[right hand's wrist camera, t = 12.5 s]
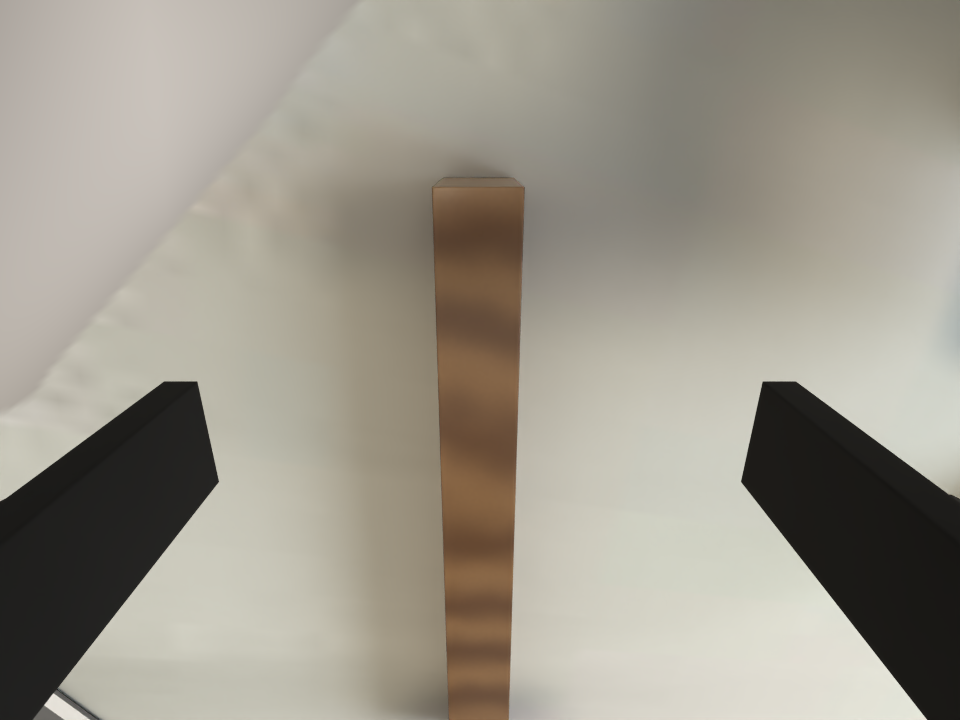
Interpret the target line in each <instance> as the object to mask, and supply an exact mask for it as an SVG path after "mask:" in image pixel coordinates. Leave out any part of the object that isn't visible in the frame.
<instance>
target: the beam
mask: <svg viewBox="0 0 960 720" xmlns="http://www.w3.org/2000/svg"><path fill="white" fill-rule="evenodd" d="M524 190H525V188H524V186H522V185H521V184H520V183H519V182H518V181H517V180H516V179H515V178H443V179H441V180H440V181H439V182H438V183H437V184H435V185H434V186H433V187H432V203H433V235H434V266H435V298H436V329H437V361H438V392H439V424H440V455H441V487H442V518H443V550H444V581H445V613H446V645H447V676H448V708H449V720H509V690H510V656H511V623H512V590H513V557H514V523H515V490H516V457H517V423H518V390H519V357H520V323H521V290H522V257H523V224H524Z"/></svg>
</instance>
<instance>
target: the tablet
mask: <svg viewBox="0 0 960 720" xmlns="http://www.w3.org/2000/svg"><path fill="white" fill-rule="evenodd" d="M33 720H97V719H96V718H95V717H93V716H92V715H90V714H89V713H88V712H86V711H85V710H84V709H82V708H81V707H79V706H78V705H77V704H75V703H74V702H73V701H71V700H70V699H68V698H67V697H66V696H64V695H63V694H62V693H60V692H59V691H58V690H56V691H55V692H54V693H53V694H52V696H51V697H50V698H49V700H48V701H47V702H46V703H45V705H44V706H43V707H42V709H41V710H40V711H39V712H38V714H37V715H36V716H35V717H34V719H33Z"/></svg>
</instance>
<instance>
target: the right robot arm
mask: <svg viewBox="0 0 960 720" xmlns="http://www.w3.org/2000/svg"><path fill="white" fill-rule="evenodd" d="M218 482H219V480H218V475H217V471H216V466H215V462H214V457H213V452H212V448H211V443H210V438H209V434H208V429H207V425H206V420H205V415H204V411H203V406H202V401H201V397H200V392H199V388H198V383H197V382H163V383H162V384H160V385H159V386H158V387H156V388H155V389H153V390H152V391H151V392H149V393H148V394H147V395H145V396H144V397H143V398H141V399H140V400H139V401H137V402H136V403H135V404H133V405H132V406H131V407H129V408H128V409H126V410H125V411H124V412H122V413H121V414H120V415H118V416H117V417H116V418H114V419H113V420H112V421H110V422H109V423H108V424H106V425H105V426H103V427H102V428H101V429H99V430H98V431H97V432H95V433H94V434H93V435H91V436H90V437H89V438H87V439H86V440H85V441H83V442H82V443H80V444H79V445H78V446H76V447H75V448H74V449H72V450H71V451H70V452H68V453H67V454H66V455H64V456H63V457H62V458H60V459H59V460H57V461H56V462H55V463H53V464H52V465H51V466H49V467H48V468H47V469H45V470H44V471H43V472H41V473H40V474H39V475H37V476H36V477H35V478H33V479H32V480H30V481H29V482H28V483H26V484H25V485H24V486H22V487H21V488H20V489H18V490H17V491H16V492H14V493H13V494H12V495H10V496H9V497H7V498H6V499H4V500H2V501H0V720H33V719H34V717H35V716H36V715H37V714H38V712H39V711H40V710H41V709H42V707H43V706H44V705H45V703H46V702H47V701H48V700H49V698H50V697H51V696H52V694H53V693H54V692H55V691H56V689H57V688H58V687H59V686H60V684H61V683H62V682H63V680H64V679H65V678H66V677H67V675H68V674H69V673H70V671H71V670H72V669H73V668H74V666H75V665H76V664H77V663H78V661H79V660H80V659H81V657H82V656H83V655H84V654H85V652H86V651H87V650H88V648H89V647H90V646H91V645H92V643H93V642H94V641H95V640H96V638H97V637H98V636H99V634H100V633H101V632H102V631H103V629H104V628H105V627H106V625H107V624H108V623H109V622H110V620H111V619H112V618H113V617H114V615H115V614H116V613H117V611H118V610H119V609H120V608H121V606H122V605H123V604H124V602H125V601H126V600H127V599H128V597H129V596H130V595H131V593H132V592H133V591H134V590H135V588H136V587H137V586H138V585H139V583H140V582H141V581H142V579H143V578H144V577H145V576H146V574H147V573H148V572H149V570H150V569H151V568H152V567H153V565H154V564H155V563H156V562H157V560H158V559H159V558H160V556H161V555H162V554H163V553H164V551H165V550H166V549H167V547H168V546H169V545H170V544H171V542H172V541H173V540H174V539H175V537H176V536H177V535H178V533H179V532H180V531H181V530H182V528H183V527H184V526H185V524H186V523H187V522H188V521H189V519H190V518H191V517H192V516H193V514H194V513H195V512H196V510H197V509H198V508H199V507H200V505H201V504H202V503H203V501H204V500H205V499H206V498H207V496H208V495H209V494H210V493H211V491H212V490H213V489H214V487H215V486H216V485H217V484H218ZM741 482H742V484H743V485H744V486H745V487H746V489H747V490H748V491H749V493H750V494H751V495H752V496H753V498H754V499H755V500H756V501H757V503H758V504H759V505H760V507H761V508H762V509H763V510H764V512H765V513H766V514H767V516H768V517H769V518H770V519H771V521H772V522H773V523H774V524H775V526H776V527H777V528H778V530H779V531H780V532H781V533H782V535H783V536H784V537H785V539H786V540H787V541H788V542H789V544H790V545H791V546H792V547H793V549H794V550H795V551H796V553H797V554H798V555H799V556H800V558H801V559H802V560H803V562H804V563H805V564H806V565H807V567H808V568H809V569H810V570H811V572H812V573H813V574H814V576H815V577H816V578H817V579H818V581H819V582H820V583H821V585H822V586H823V587H824V588H825V590H826V591H827V592H828V593H829V595H830V596H831V597H832V599H833V600H834V601H835V602H836V604H837V605H838V606H839V608H840V609H841V610H842V611H843V613H844V614H845V615H846V617H847V618H848V619H849V620H850V622H851V623H852V624H853V625H854V627H855V628H856V629H857V631H858V632H859V633H860V634H861V636H862V637H863V638H864V640H865V641H866V642H867V643H868V645H869V646H870V647H871V648H872V650H873V651H874V652H875V654H876V655H877V656H878V657H879V659H880V660H881V661H882V663H883V664H884V665H885V666H886V668H887V669H888V670H889V671H890V673H891V674H892V675H893V677H894V678H895V679H896V680H897V682H898V683H899V684H900V686H901V687H902V688H903V689H904V691H905V692H906V693H907V694H908V696H909V697H910V698H911V700H912V701H913V702H914V703H915V705H916V706H917V707H918V709H919V710H920V711H921V712H922V714H923V715H924V716H925V717H926V719H927V720H960V499H959V498H957V497H955V496H953V495H948V494H947V493H946V492H944V491H943V490H942V489H940V488H939V487H938V486H936V485H935V484H934V483H932V482H931V481H930V480H928V479H927V478H925V477H924V476H923V475H921V474H920V473H919V472H917V471H916V470H915V469H913V468H912V467H911V466H909V465H908V464H907V463H905V462H904V461H903V460H901V459H900V458H898V457H897V456H896V455H894V454H893V453H892V452H890V451H889V450H888V449H886V448H885V447H884V446H882V445H881V444H880V443H878V442H877V441H875V440H874V439H873V438H871V437H870V436H869V435H867V434H866V433H865V432H863V431H862V430H861V429H859V428H858V427H857V426H855V425H854V424H852V423H851V422H850V421H848V420H847V419H846V418H844V417H843V416H842V415H840V414H839V413H838V412H836V411H835V410H834V409H832V408H831V407H829V406H828V405H827V404H825V403H824V402H823V401H821V400H820V399H819V398H817V397H816V396H815V395H813V394H812V393H811V392H809V391H808V390H807V389H805V388H804V387H802V386H801V385H800V384H798V383H797V382H763V383H762V388H761V392H760V397H759V401H758V406H757V411H756V415H755V420H754V425H753V429H752V434H751V438H750V443H749V448H748V452H747V457H746V462H745V466H744V471H743V475H742V480H741Z"/></svg>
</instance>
